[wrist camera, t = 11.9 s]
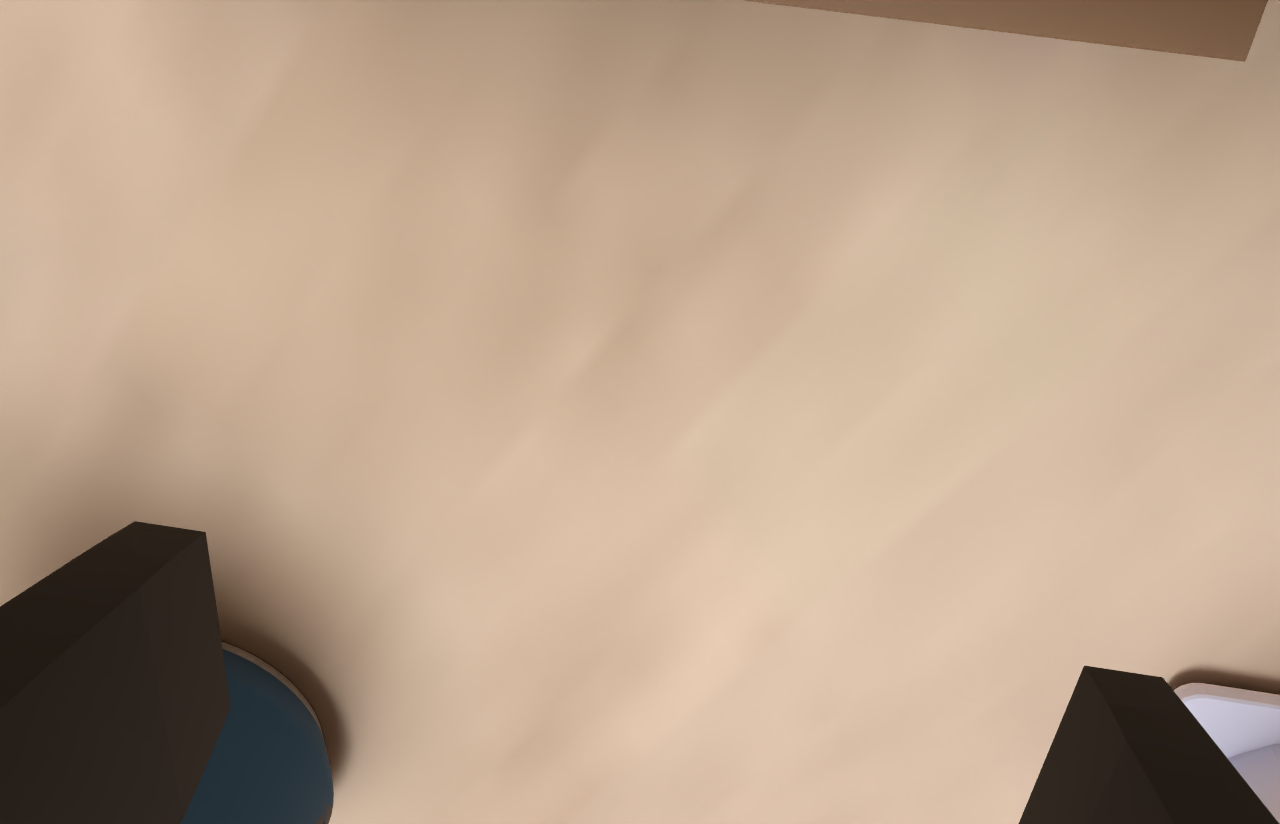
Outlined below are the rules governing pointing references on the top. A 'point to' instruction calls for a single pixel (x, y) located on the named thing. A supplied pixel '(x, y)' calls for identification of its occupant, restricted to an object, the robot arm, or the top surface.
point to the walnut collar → (1084, 20)
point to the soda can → (264, 754)
